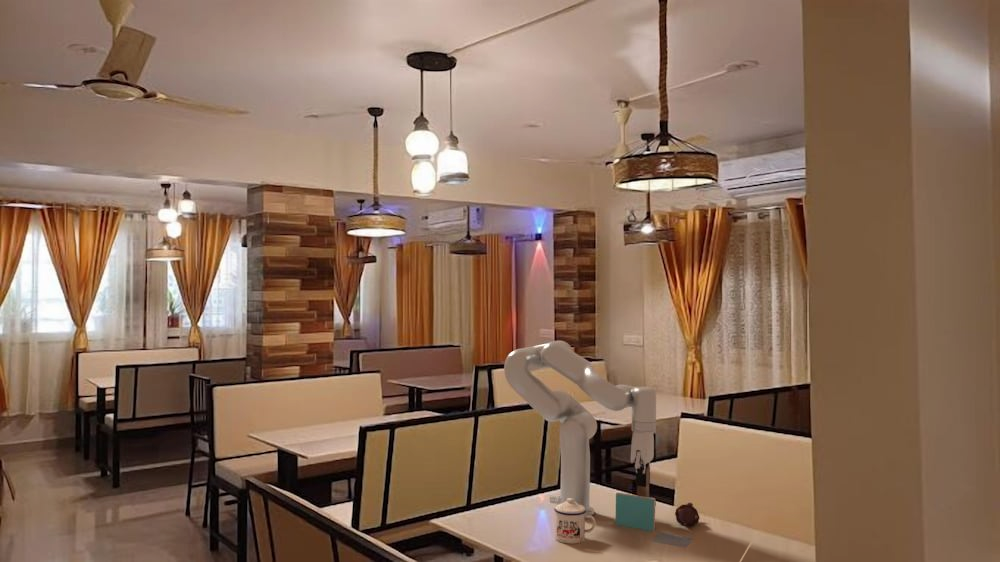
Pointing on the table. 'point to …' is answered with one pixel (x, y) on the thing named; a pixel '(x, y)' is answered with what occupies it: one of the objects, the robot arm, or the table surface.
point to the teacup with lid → (571, 522)
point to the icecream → (687, 515)
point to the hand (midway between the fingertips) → (642, 484)
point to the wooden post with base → (644, 490)
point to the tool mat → (672, 539)
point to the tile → (635, 511)
